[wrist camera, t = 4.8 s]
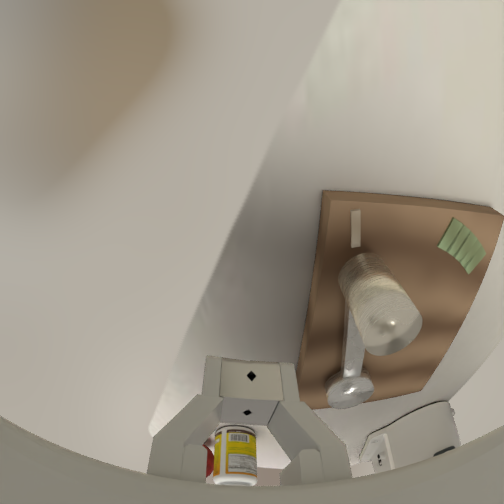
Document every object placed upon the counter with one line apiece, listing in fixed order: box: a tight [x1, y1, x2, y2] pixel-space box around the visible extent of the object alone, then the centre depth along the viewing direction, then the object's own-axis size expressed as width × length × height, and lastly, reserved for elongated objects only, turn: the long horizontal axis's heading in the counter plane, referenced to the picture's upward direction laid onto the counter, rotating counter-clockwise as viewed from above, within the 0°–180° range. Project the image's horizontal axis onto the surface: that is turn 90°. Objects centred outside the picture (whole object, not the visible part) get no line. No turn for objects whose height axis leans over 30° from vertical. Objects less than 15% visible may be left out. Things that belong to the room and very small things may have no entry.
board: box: [296, 190, 504, 410], centre depth 23 cm, size 23×16×2 cm
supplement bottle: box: [213, 426, 257, 486], centre depth 29 cm, size 6×6×10 cm
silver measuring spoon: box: [325, 253, 422, 409], centre depth 18 cm, size 17×4×6 cm, turn 9°
